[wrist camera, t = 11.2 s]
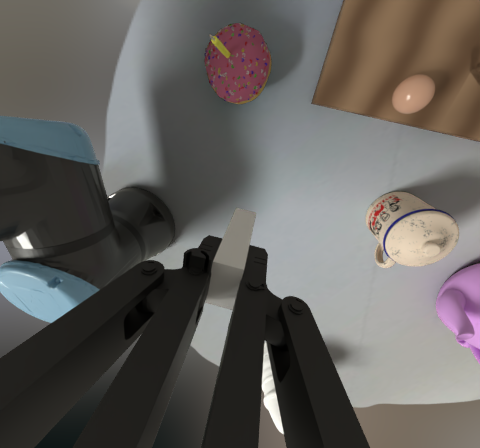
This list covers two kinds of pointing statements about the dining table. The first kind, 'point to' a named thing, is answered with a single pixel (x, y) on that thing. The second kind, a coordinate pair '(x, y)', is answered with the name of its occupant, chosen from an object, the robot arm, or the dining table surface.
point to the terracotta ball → (413, 94)
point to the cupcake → (237, 63)
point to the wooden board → (406, 62)
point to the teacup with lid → (410, 230)
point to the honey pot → (270, 391)
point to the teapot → (462, 307)
